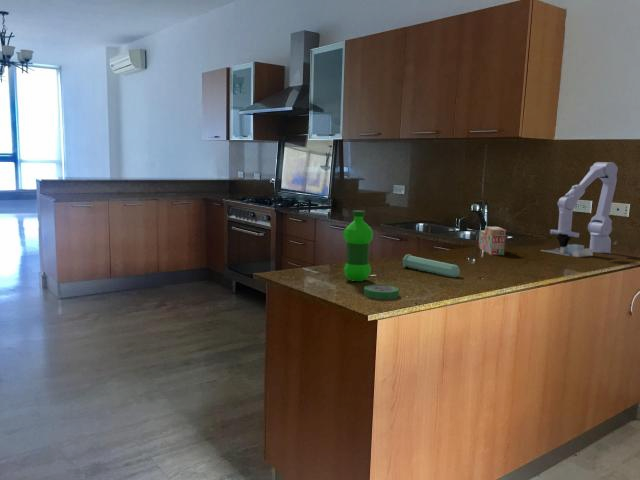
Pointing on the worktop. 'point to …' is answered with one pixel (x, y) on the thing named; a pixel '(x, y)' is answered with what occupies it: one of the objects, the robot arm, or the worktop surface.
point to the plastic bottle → (357, 248)
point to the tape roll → (381, 291)
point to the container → (431, 266)
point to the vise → (574, 252)
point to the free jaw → (563, 249)
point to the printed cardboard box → (492, 240)
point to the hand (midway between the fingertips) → (563, 250)
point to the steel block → (573, 248)
